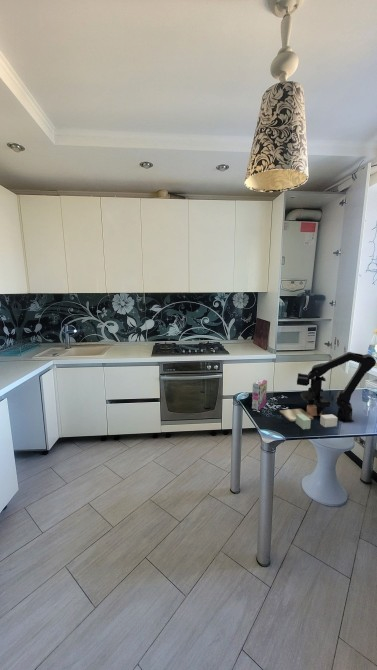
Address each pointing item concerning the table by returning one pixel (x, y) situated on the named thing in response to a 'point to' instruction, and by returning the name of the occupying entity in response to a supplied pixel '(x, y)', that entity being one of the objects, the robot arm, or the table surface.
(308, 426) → the sage brick
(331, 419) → the cream brick
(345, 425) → the table surface
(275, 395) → the table surface
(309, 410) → the terracotta brick
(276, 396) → the table surface
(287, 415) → the birch board
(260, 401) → the candy bar box
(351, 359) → the robot arm
